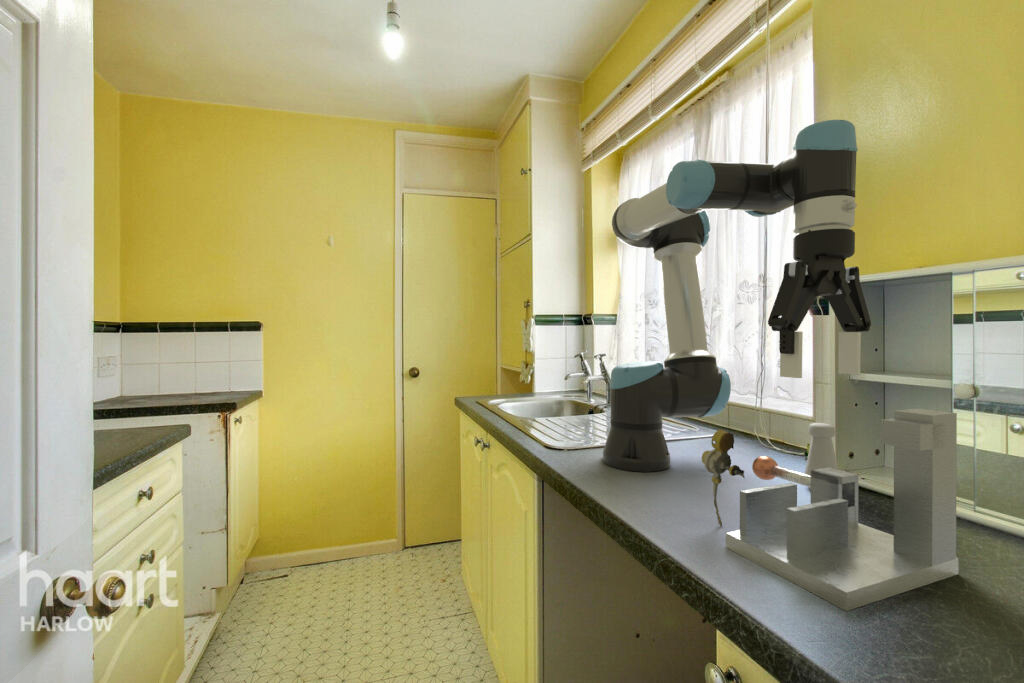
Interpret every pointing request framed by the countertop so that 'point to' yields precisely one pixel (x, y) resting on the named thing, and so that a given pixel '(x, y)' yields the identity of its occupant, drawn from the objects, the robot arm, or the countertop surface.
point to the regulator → (720, 461)
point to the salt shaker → (821, 448)
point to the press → (853, 546)
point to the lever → (780, 472)
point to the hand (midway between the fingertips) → (821, 375)
